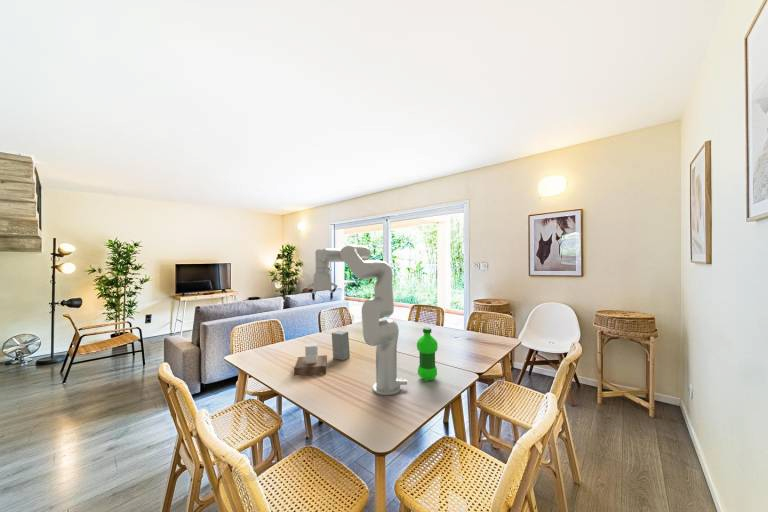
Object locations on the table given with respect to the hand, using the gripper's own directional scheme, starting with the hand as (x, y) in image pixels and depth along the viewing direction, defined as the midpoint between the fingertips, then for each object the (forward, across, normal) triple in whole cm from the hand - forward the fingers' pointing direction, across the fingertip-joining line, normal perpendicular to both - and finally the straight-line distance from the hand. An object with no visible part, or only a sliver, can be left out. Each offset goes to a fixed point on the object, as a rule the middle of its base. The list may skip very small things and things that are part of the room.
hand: (322, 300), depth 162 cm
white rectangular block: (+32, +6, +8) cm, 33 cm away
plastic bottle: (+36, -52, +33) cm, 71 cm away
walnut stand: (+36, +6, +8) cm, 37 cm away
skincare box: (+36, -10, -5) cm, 38 cm away
